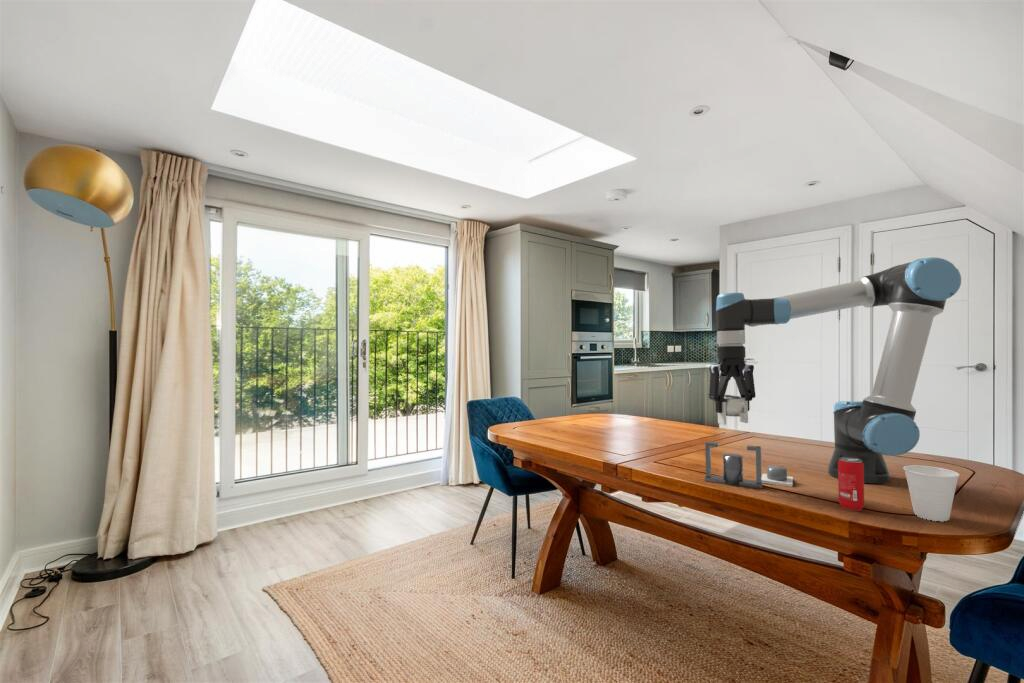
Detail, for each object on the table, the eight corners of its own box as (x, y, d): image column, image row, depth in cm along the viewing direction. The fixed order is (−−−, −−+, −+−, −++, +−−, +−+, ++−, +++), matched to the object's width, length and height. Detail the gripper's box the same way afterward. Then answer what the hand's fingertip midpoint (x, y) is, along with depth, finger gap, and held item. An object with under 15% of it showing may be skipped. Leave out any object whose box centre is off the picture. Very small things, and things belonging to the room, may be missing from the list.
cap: (755, 416, 134) (755, 397, 134) (735, 417, 132) (734, 398, 132) (730, 411, 144) (729, 393, 144) (711, 412, 143) (710, 394, 143)
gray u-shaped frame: (762, 484, 136) (762, 445, 136) (761, 489, 132) (760, 449, 132) (707, 477, 144) (706, 440, 144) (704, 481, 140) (703, 443, 140)
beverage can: (833, 504, 119) (832, 457, 119) (852, 503, 119) (851, 456, 120) (850, 511, 114) (849, 462, 114) (869, 510, 114) (869, 461, 114)
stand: (792, 479, 141) (792, 466, 141) (792, 486, 134) (792, 472, 134) (762, 475, 145) (762, 463, 145) (760, 482, 138) (760, 469, 138)
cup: (914, 522, 107) (913, 474, 107) (896, 508, 116) (896, 463, 116) (970, 528, 103) (969, 478, 103) (947, 512, 112) (946, 467, 112)
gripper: (750, 344, 144) (752, 419, 144) (694, 346, 140) (695, 423, 140) (768, 344, 137) (770, 423, 137) (710, 346, 132) (712, 427, 132)
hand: (733, 422), depth 138 cm, fingers closed on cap, 7 cm apart
